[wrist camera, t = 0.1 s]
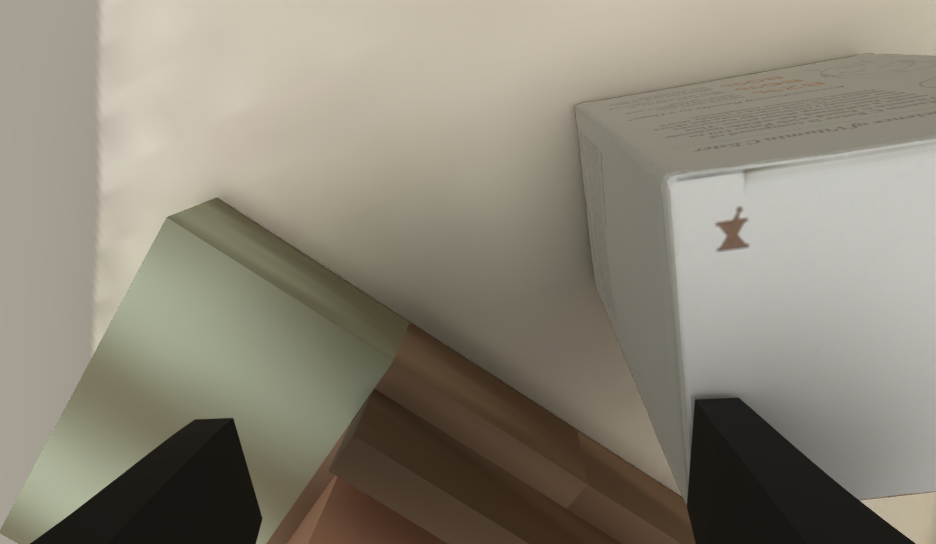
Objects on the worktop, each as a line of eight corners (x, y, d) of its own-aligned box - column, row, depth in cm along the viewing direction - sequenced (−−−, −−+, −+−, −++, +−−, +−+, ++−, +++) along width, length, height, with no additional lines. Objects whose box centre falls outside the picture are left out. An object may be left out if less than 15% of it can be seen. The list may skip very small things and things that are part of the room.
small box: (592, 285, 20) (678, 530, 10) (571, 98, 18) (650, 176, 8) (867, 247, 19) (1256, 475, 9) (874, 48, 17) (1368, 67, 7)
